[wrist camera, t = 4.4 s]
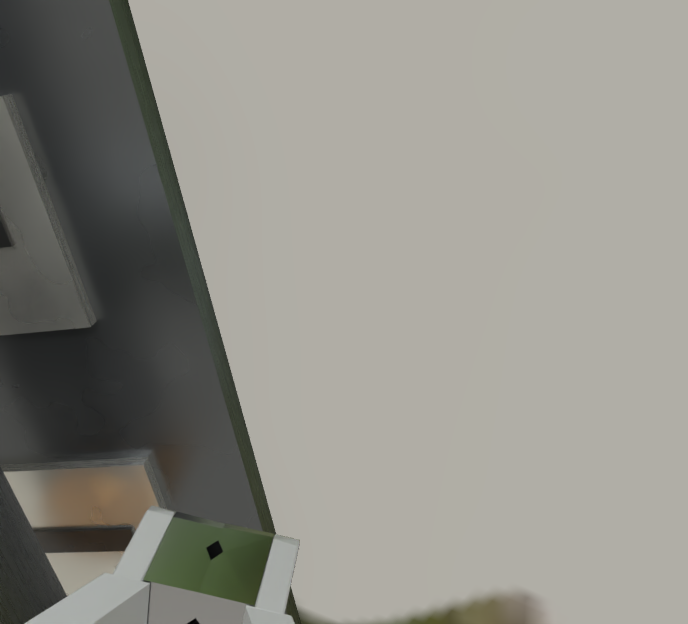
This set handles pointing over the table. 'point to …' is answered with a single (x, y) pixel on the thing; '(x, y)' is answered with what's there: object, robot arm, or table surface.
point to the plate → (104, 302)
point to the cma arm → (22, 565)
